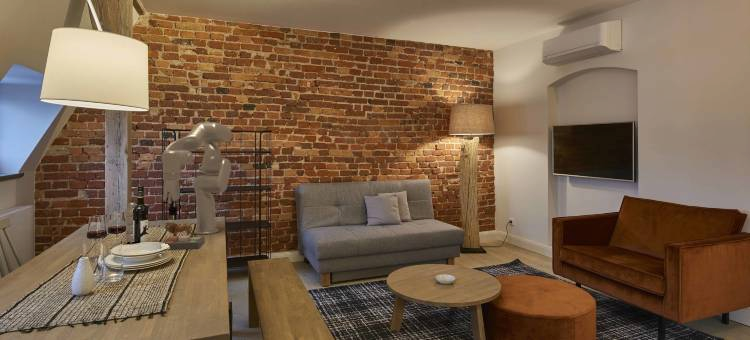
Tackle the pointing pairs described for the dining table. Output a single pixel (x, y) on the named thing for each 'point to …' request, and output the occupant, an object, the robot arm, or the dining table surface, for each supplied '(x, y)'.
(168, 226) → the lion figurine
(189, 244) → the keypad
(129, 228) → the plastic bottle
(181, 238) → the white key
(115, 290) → the dining table surface
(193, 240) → the sage key
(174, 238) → the terracotta key
